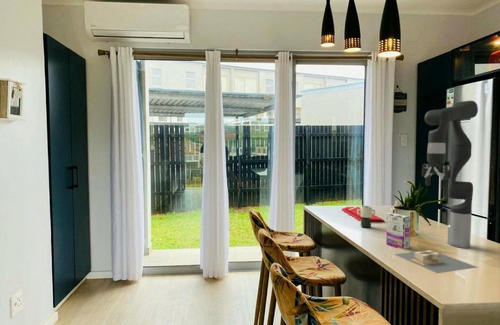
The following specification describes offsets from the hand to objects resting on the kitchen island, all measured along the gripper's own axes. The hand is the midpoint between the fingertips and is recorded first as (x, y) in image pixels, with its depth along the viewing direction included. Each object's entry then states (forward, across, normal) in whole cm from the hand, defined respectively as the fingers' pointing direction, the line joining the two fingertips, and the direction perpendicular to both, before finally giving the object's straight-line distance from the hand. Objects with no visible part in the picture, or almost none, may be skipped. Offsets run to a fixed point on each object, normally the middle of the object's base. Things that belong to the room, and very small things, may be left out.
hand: (435, 186), depth 158 cm
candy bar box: (+32, +14, +8) cm, 36 cm away
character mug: (+32, +53, -2) cm, 62 cm away
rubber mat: (+32, -9, +9) cm, 35 cm away
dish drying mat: (+33, +81, -20) cm, 90 cm away
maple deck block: (+31, -9, +13) cm, 35 cm away
